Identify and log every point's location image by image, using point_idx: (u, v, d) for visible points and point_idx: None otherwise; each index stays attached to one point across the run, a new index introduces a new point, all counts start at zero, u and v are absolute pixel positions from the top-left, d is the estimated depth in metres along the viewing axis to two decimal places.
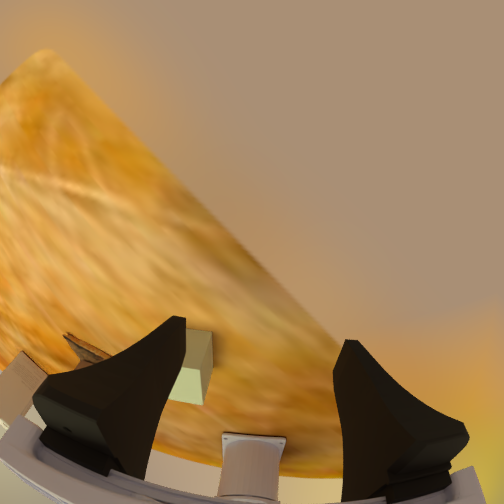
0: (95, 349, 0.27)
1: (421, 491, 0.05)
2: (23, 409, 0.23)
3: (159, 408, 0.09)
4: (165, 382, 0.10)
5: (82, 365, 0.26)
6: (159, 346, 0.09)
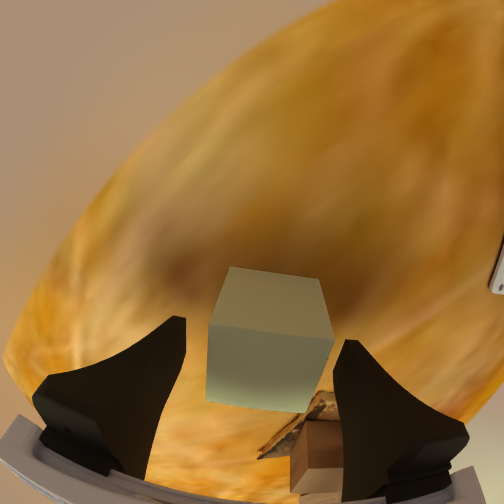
0: (280, 433, 0.19)
1: (421, 491, 0.05)
2: None
3: (159, 408, 0.09)
4: (165, 382, 0.10)
5: (292, 456, 0.17)
6: (159, 346, 0.09)
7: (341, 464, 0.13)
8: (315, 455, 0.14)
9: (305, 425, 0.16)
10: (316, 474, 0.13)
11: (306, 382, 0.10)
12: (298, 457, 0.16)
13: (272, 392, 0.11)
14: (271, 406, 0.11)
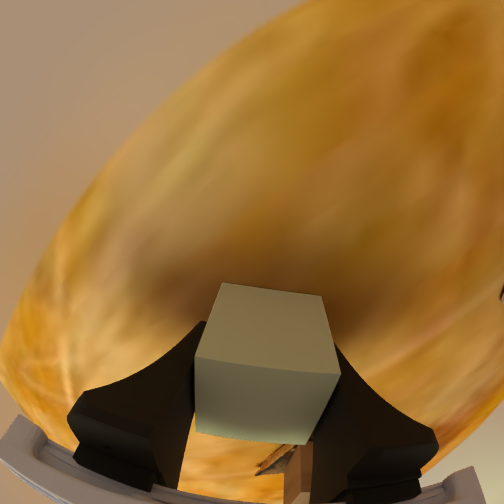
0: (279, 451, 0.17)
1: (385, 500, 0.05)
2: None
3: (191, 416, 0.09)
4: None
5: (285, 474, 0.16)
6: (194, 354, 0.09)
7: None
8: (309, 478, 0.12)
9: (299, 445, 0.15)
10: (309, 496, 0.12)
11: (307, 416, 0.09)
12: (292, 477, 0.14)
13: (269, 426, 0.09)
14: (268, 438, 0.09)
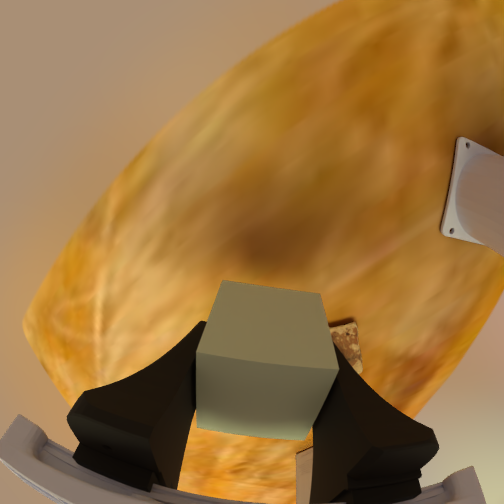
0: None
1: (385, 500, 0.05)
2: None
3: (191, 416, 0.09)
4: None
5: None
6: (194, 354, 0.09)
7: None
8: None
9: None
10: None
11: (306, 411, 0.09)
12: None
13: (268, 421, 0.09)
14: (267, 434, 0.10)
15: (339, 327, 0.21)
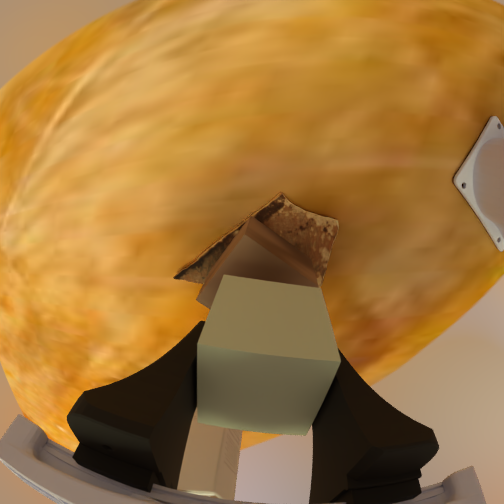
0: (217, 241, 0.20)
1: (385, 500, 0.05)
2: (219, 453, 0.18)
3: (191, 416, 0.09)
4: (196, 389, 0.10)
5: (212, 269, 0.19)
6: (194, 354, 0.09)
7: (278, 255, 0.15)
8: (254, 233, 0.16)
9: (248, 218, 0.18)
10: (246, 256, 0.15)
11: (307, 405, 0.09)
12: (226, 253, 0.17)
13: (270, 415, 0.09)
14: (269, 429, 0.10)
15: (319, 216, 0.18)
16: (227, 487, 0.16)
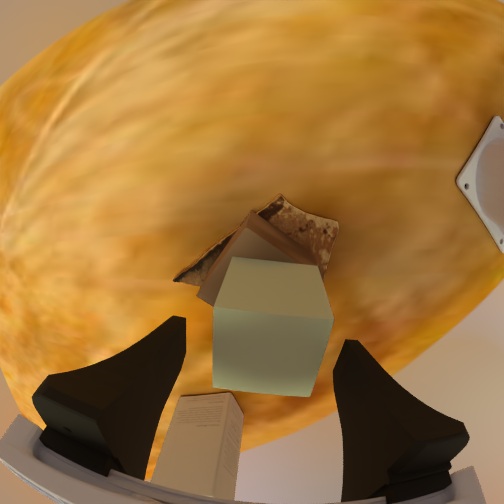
0: (217, 243, 0.20)
1: (421, 491, 0.05)
2: (218, 457, 0.18)
3: (159, 408, 0.09)
4: (165, 382, 0.10)
5: (212, 265, 0.19)
6: (159, 346, 0.09)
7: (280, 248, 0.15)
8: (255, 227, 0.15)
9: (249, 213, 0.18)
10: (247, 250, 0.15)
11: (309, 364, 0.11)
12: (226, 248, 0.17)
13: (276, 375, 0.11)
14: (276, 390, 0.12)
15: (319, 217, 0.18)
16: (226, 491, 0.16)
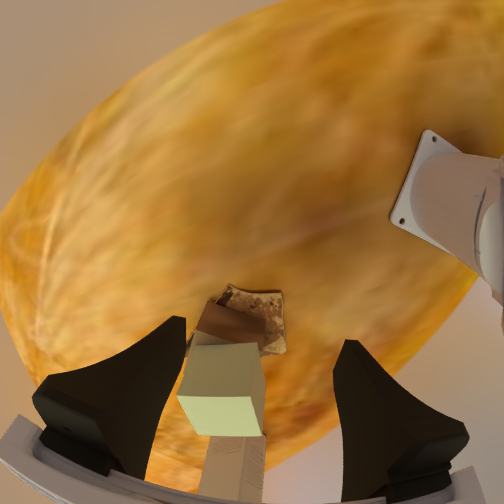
0: None
1: (421, 491, 0.05)
2: (241, 475, 0.22)
3: (159, 408, 0.09)
4: (165, 382, 0.10)
5: None
6: (159, 346, 0.09)
7: (225, 337, 0.19)
8: (205, 323, 0.20)
9: None
10: (203, 343, 0.19)
11: (249, 419, 0.15)
12: None
13: (232, 426, 0.16)
14: (237, 434, 0.16)
15: (263, 294, 0.22)
16: (252, 500, 0.20)
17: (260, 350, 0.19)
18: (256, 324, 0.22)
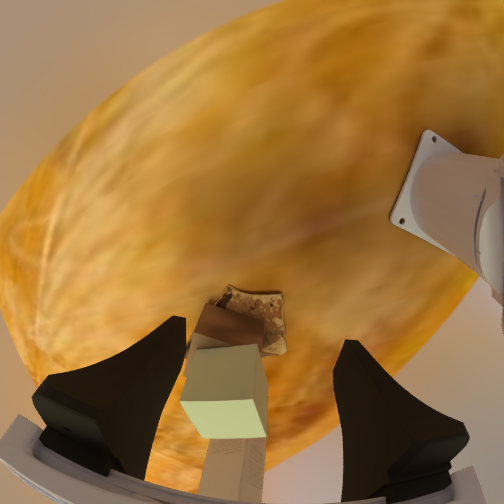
0: None
1: (421, 491, 0.05)
2: (241, 475, 0.22)
3: (159, 408, 0.09)
4: (165, 382, 0.10)
5: None
6: (159, 346, 0.09)
7: (223, 339, 0.19)
8: (203, 325, 0.20)
9: None
10: (201, 345, 0.19)
11: (252, 421, 0.15)
12: None
13: (236, 428, 0.16)
14: (241, 435, 0.16)
15: (263, 295, 0.22)
16: (252, 500, 0.20)
17: (259, 351, 0.19)
18: (255, 325, 0.22)
